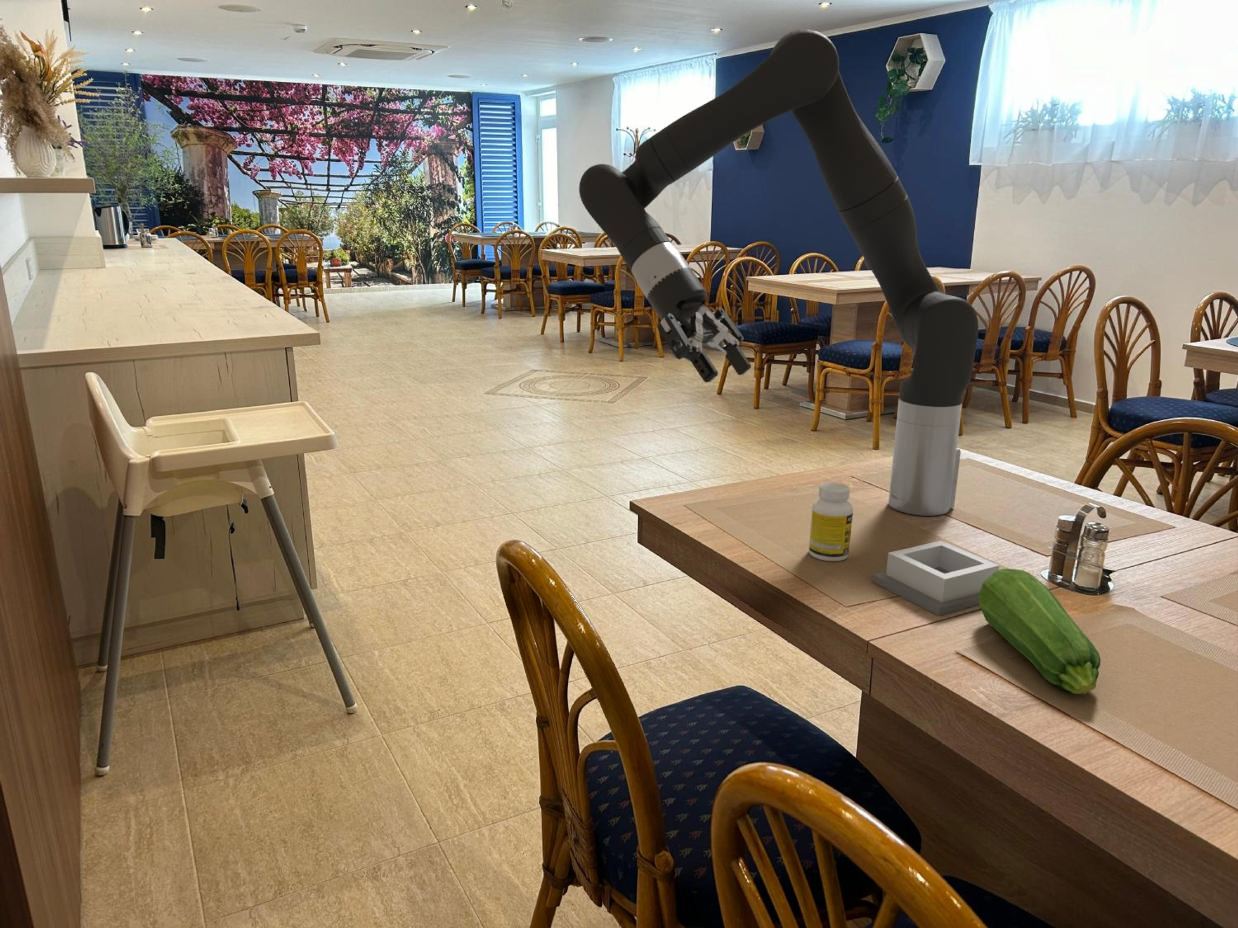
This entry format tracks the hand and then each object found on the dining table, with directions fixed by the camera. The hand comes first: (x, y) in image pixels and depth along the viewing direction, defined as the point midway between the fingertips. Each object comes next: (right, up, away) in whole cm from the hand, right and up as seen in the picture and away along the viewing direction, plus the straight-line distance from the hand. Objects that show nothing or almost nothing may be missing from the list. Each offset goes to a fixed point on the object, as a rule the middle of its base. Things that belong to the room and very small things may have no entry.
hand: (729, 375), depth 125 cm
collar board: (+25, -28, -12) cm, 39 cm away
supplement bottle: (+13, -25, -2) cm, 28 cm away
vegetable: (+29, -33, -29) cm, 53 cm away
